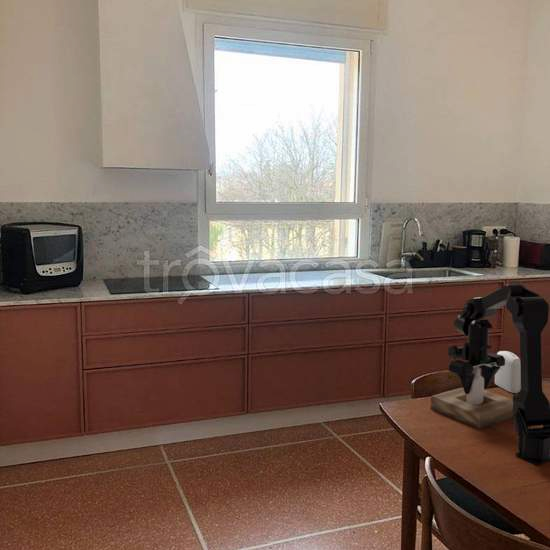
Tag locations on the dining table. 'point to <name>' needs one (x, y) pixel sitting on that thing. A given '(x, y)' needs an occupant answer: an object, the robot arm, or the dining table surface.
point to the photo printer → (509, 373)
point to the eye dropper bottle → (476, 388)
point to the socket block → (473, 407)
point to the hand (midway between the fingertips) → (475, 391)
